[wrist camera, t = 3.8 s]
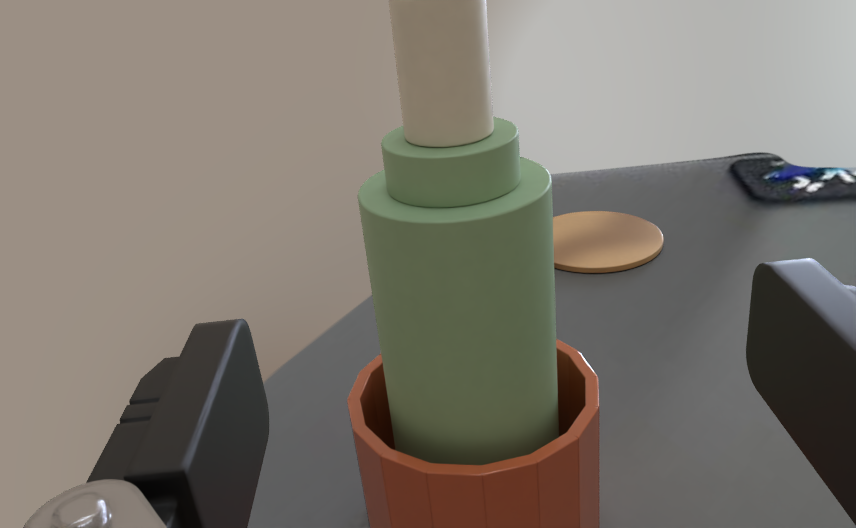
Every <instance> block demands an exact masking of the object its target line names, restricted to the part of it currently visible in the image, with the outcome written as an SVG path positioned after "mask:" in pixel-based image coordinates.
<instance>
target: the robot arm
mask: <svg viewBox="0 0 856 528" xmlns="http://www.w3.org/2000/svg"><path fill="white" fill-rule="evenodd" d="M746 358H747V366H748V370H749V374H750V377H751V380H752V382H753V384H754V386H755V388H756V389H757V391H758V392H759V394H760V395H761V396H762V398H763V399H764V400H765V402H766V403H767V405H768V406H769V407H770V409H771V410H772V411H773V413H774V414H775V415H776V417H777V418H778V420H779V421H780V422H781V424H782V425H783V426H784V428H785V429H786V430H787V432H788V433H789V435H790V436H791V437H792V439H793V440H794V441H795V443H796V444H797V446H798V447H799V448H800V450H801V451H802V452H803V454H804V455H805V456H806V458H807V459H808V461H809V462H810V463H811V465H812V466H813V467H814V469H815V470H816V471H817V473H818V474H819V476H820V477H821V478H822V480H823V481H824V482H825V484H826V485H827V487H828V488H829V489H830V491H831V492H832V493H833V495H834V496H835V497H836V499H837V500H838V502H839V503H840V504H841V506H842V507H843V508H844V510H845V511H846V513H847V514H848V515H849V517H850V518H851V519H852V521H853V522H854V523H855V525H856V287H854V286H851V285H846V286H844V285H843V284H842V283H841V282H839V281H838V280H837V279H836V278H835V277H834V276H833V275H831V274H830V273H829V272H828V271H827V270H826V269H824V268H823V267H822V266H821V265H820V264H819V263H818V262H816V261H815V260H814V259H811V258H805V259H796V260H787V261H778V262H768V263H761V264H759V265H758V266H757V268H756V269H755V272H754V276H753V282H752V293H751V303H750V314H749V324H748V335H747V346H746ZM268 435H269V412H268V404H267V399H266V394H265V390H264V386H263V382H262V378H261V374H260V369H259V365H258V361H257V357H256V352H255V349H254V344H253V340H252V336H251V332H250V329H249V326H248V324H247V322H246V321H245V320H244V319H235V320H226V321H217V322H208V323H199V324H196V325H195V326H194V328H193V329H192V331H191V333H190V336H189V338H188V340H187V342H186V344H185V346H184V348H183V350H182V353H181V355H180V357H171V358H164V359H163V360H162V361H161V362H160V363H159V364H157V365H156V366H155V367H154V368H153V369H152V370H151V371H149V372H148V373H147V374H146V375H145V376H144V377H143V378H142V379H141V380H140V382H139V384H138V386H137V388H136V390H135V391H134V393H133V395H132V397H131V399H130V405H127V407H126V408H125V410H124V412H123V414H122V416H121V418H120V424H117V425H116V427H115V429H114V431H113V433H112V435H111V437H110V439H109V441H108V443H107V444H106V446H105V448H104V450H103V452H102V454H101V456H100V458H99V460H98V461H97V463H96V465H95V467H94V469H93V471H92V473H91V475H90V476H89V478H88V480H87V482H86V483H85V484H82V485H79V486H76V487H74V488H71V489H69V490H67V491H65V492H63V493H61V494H59V495H57V496H56V497H54V498H53V499H51V500H50V501H48V502H47V503H46V504H44V505H43V506H42V507H41V508H39V509H38V510H37V511H36V512H35V513H34V514H33V515H32V516H31V517H30V519H29V520H28V521H27V523H26V524H25V525H24V527H23V528H247V526H248V522H249V517H250V513H251V509H252V505H253V500H254V496H255V492H256V488H257V484H258V479H259V475H260V471H261V467H262V462H263V458H264V454H265V450H266V445H267V441H268Z"/></svg>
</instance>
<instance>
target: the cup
mask: <svg viewBox="0 0 856 528" xmlns="http://www.w3.org/2000/svg"><path fill="white" fill-rule="evenodd" d="M556 350H557V385H558V420H559V437H558V438H556V439H555V440H553V441H551V442H550V443H548V444H546V445H545V446H543V447H541V448H539V449H538V450H536V451H534V452H533V453H531V454H529V455H524V456H520V457H515V458H511V459H507V460H502V461H498V462H494V463H489V464H485V465H463V464H441V463H430V462H427V461H424V460H421V459H419V458H416V457H413V456H410V455H407V454H405V453H402V452H399V451H396V449H395V442H394V436H393V429H392V422H391V416H390V409H389V402H388V396H387V389H386V382H385V376H384V369H383V362H382V356H381V354H379V355H378V356H377V357H376V358H375V359H374V360H373V361H371V362H370V363H369V364H368V365H367V366H366V367H364V368H363V369H362V370H361V371H360V372H359V374H358V377H357V379H356V381H355V383H354V386H353V388H352V390H351V392H350V395H349V397H348V399H347V404H348V409H349V415H350V421H351V426H352V432H353V437H354V443H355V448H356V454H357V460H358V465H359V471H360V476H361V482H362V487H363V493H364V499H365V504H366V510H367V515H368V521H369V526H370V528H599V381H598V376H597V375H596V374H595V372H594V371H593V370H592V368H591V367H590V366H589V364H588V363H587V362H586V360H585V359H584V357H583V356H582V355H581V353H580V352H578V351H577V350H576V349H574V348H572V347H570V346H569V345H567V344H565V343H563V342H561V341H560V340H558V339H556Z"/></svg>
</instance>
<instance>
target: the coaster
mask: <svg viewBox="0 0 856 528" xmlns="http://www.w3.org/2000/svg"><path fill="white" fill-rule="evenodd" d="M553 245H554V268H557V269H561V270H566V271H572V272H581V273H606V272H616V271H622V270H626V269H631V268H634V267H637V266H640V265H642V264H645V263H647V262H649V261H651V260H652V259H653V258H655V257H656V256H657V255H658V254H659V253H660V252H661V250H662V248H663V235H662V232H661V231H660V230H659V229H658V228H657V227H656V226H655V225H654V224H652V223H650V222H648V221H647V220H644V219H642V218H639V217H636V216H633V215H628V214H623V213H617V212H606V211H586V212H575V213H569V214H564V215H560V216H556V217H553Z"/></svg>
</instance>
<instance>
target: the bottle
mask: <svg viewBox="0 0 856 528" xmlns="http://www.w3.org/2000/svg"><path fill="white" fill-rule="evenodd" d="M389 6H390V15H391V24H392V32H393V41H394V50H395V58H396V67H397V75H398V84H399V92H400V101H401V109H402V118H403V126H401V127H399V128H397V129H395V130H393V131H391V132H390V133H388V134H387V135H386V136H385V137H384V138H383V139H382V143H381V146H382V154H383V162H384V170H382V171H381V172H379V173H377V174H375V175H374V176H372V177H370V178H369V179H368V180H367V181H366V182H365V183H364V184H363V185H362V186H361V188H360V190H359V193H358V201H359V209H360V215H361V222H362V229H363V235H364V242H365V249H366V255H367V261H368V269H369V275H370V282H371V288H372V295H373V302H374V309H375V316H376V322H377V329H378V336H379V342H380V349H381V356H382V362H383V369H384V376H385V382H386V389H387V396H388V402H389V409H390V416H391V422H392V429H393V436H394V442H395V449H396V451H399V452H402V453H405V454H407V455H410V456H413V457H416V458H419V459H421V460H424V461H427V462H430V463H441V464H463V465H485V464H489V463H494V462H498V461H502V460H507V459H511V458H515V457H520V456H524V455H529V454H531V453H533V452H534V451H536V450H538V449H539V448H541V447H543V446H545V445H546V444H548V443H550V442H551V441H553V440H555V439H556V438H558V437H559V420H558V385H557V350H556V315H555V280H554V245H553V210H552V180H551V176H550V174H549V172H548V171H547V170H546V169H545V168H544V167H543V166H542V165H540V164H538V163H536V162H534V161H532V160H529V159H526V158H523V157H520V154H519V133H518V132H519V131H518V128H517V127H516V125H515V124H513V123H512V122H509V121H507V120H504V119H500V118H496V117H493V105H492V89H491V74H490V58H489V42H488V25H487V9H486V0H389Z"/></svg>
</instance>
